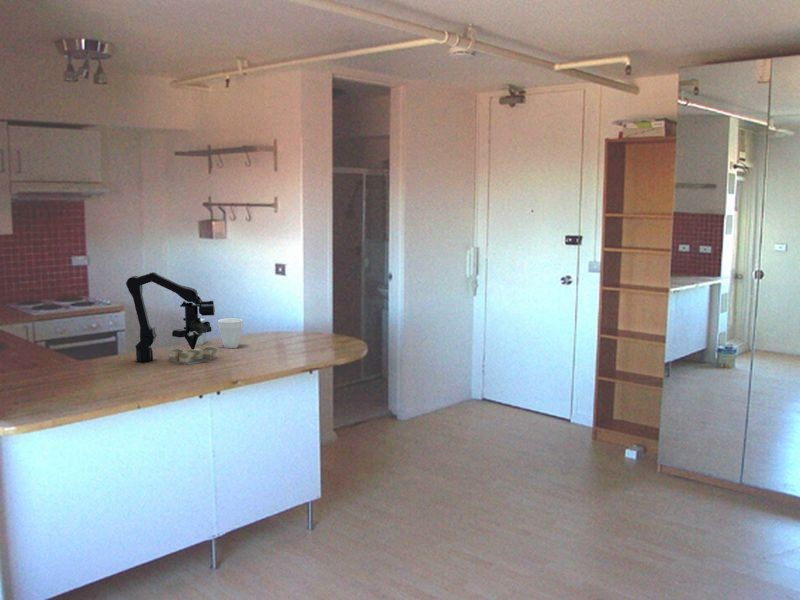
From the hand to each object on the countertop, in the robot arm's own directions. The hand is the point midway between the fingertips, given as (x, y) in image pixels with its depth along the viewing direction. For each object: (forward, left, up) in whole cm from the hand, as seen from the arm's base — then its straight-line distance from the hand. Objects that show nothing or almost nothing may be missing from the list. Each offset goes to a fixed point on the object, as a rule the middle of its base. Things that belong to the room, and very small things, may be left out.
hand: (192, 349), depth 337 cm
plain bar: (0, 0, -5) cm, 5 cm away
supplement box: (+27, +28, -5) cm, 40 cm away
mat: (0, 0, -5) cm, 5 cm away
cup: (+31, +8, -5) cm, 33 cm away
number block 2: (+6, -4, -5) cm, 9 cm away
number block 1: (-6, +5, -5) cm, 9 cm away
